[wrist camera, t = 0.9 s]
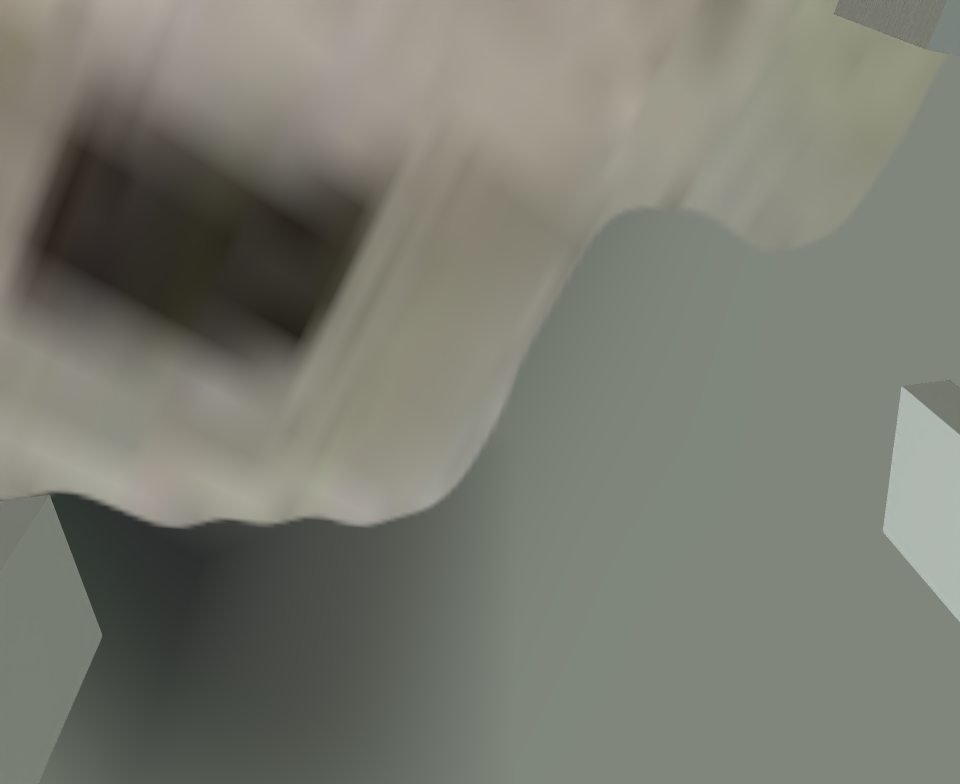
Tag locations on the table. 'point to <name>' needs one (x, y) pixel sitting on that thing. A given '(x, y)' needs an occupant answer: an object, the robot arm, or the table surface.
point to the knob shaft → (909, 21)
